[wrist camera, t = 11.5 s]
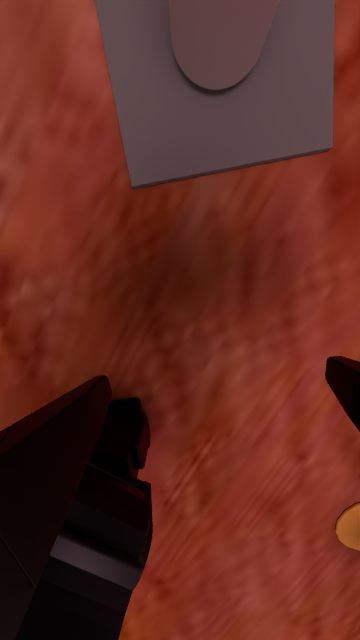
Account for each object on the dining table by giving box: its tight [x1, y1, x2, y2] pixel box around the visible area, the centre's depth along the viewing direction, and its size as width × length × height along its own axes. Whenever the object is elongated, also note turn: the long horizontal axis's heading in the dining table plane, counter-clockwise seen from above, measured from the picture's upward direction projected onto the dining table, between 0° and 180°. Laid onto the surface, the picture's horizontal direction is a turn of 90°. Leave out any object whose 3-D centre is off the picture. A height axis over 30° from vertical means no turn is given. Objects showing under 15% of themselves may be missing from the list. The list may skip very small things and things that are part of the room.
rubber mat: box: [95, 0, 335, 189], centre depth 15 cm, size 16×16×1 cm
